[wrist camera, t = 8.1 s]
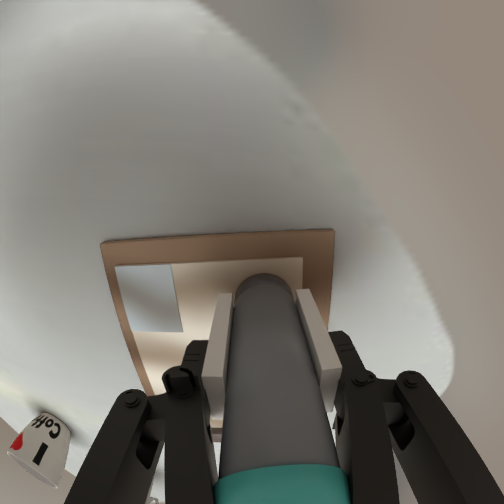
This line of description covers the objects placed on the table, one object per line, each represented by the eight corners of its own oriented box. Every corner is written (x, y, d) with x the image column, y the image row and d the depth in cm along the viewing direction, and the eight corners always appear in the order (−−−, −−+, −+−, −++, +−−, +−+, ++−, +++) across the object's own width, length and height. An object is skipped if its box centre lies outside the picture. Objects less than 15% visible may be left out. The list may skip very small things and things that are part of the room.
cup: (69, 418, 24) (42, 473, 15) (85, 447, 27) (66, 494, 17) (27, 397, 24) (-3, 442, 14) (45, 428, 26) (23, 470, 17)
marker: (230, 273, 16) (194, 534, 3) (294, 269, 16) (378, 516, 3) (235, 326, 17) (221, 550, 4) (293, 323, 17) (341, 540, 4)
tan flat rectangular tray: (103, 241, 17) (92, 248, 15) (331, 228, 17) (339, 235, 15) (164, 427, 23) (161, 438, 21) (310, 426, 23) (313, 438, 21)
